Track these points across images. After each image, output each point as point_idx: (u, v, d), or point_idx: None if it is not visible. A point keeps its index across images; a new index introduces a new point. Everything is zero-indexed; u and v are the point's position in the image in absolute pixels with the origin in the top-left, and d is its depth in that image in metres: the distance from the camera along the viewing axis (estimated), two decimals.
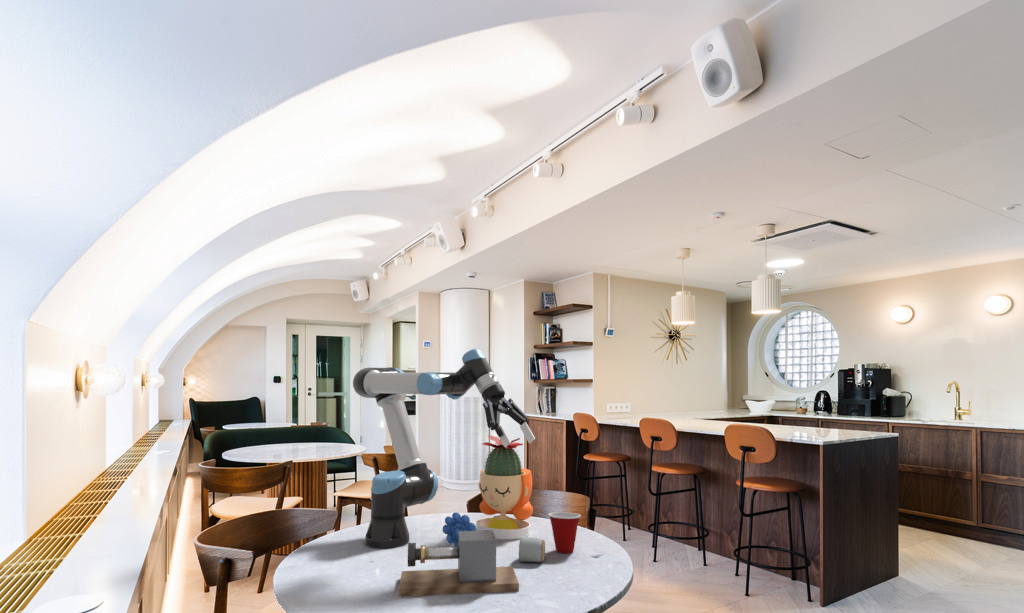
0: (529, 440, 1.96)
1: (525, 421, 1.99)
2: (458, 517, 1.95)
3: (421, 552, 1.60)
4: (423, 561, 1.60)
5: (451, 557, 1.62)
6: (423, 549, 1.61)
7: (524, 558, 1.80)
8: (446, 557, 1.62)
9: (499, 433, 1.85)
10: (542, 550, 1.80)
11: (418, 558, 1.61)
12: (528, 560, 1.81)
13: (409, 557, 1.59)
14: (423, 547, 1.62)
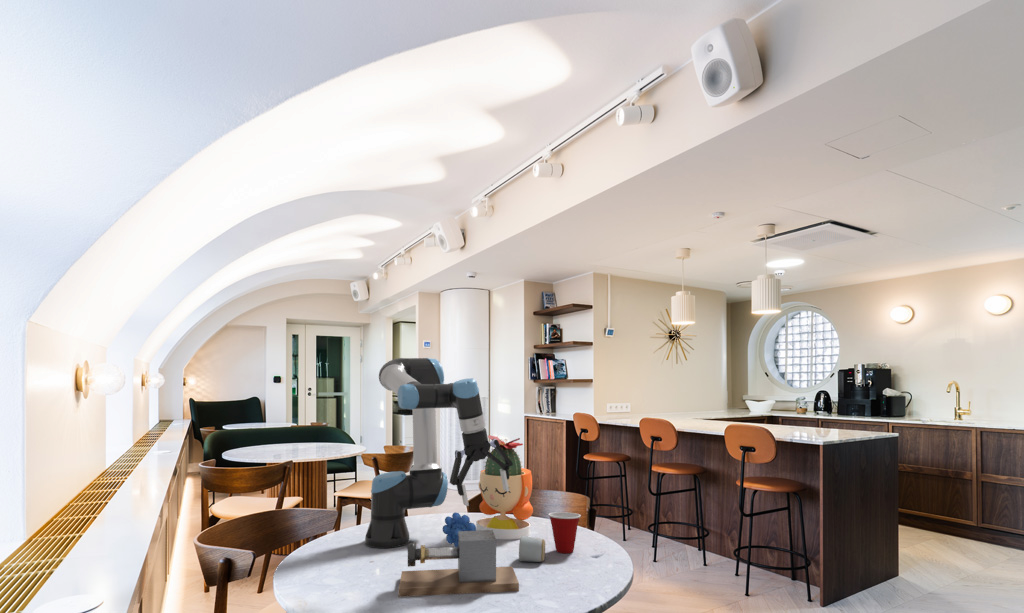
0: (504, 488, 1.82)
1: (505, 469, 1.80)
2: (458, 517, 1.95)
3: (421, 552, 1.60)
4: (423, 561, 1.60)
5: (451, 557, 1.62)
6: (423, 549, 1.61)
7: (524, 558, 1.81)
8: (446, 557, 1.62)
9: (459, 493, 1.74)
10: (542, 550, 1.80)
11: (418, 558, 1.61)
12: (528, 560, 1.81)
13: (409, 557, 1.59)
14: (423, 547, 1.62)
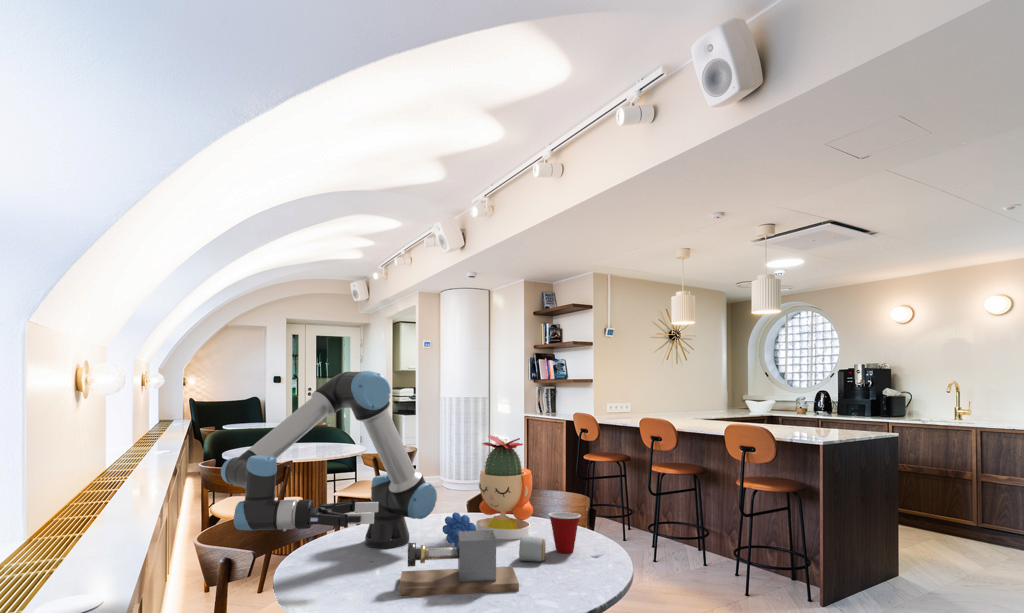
0: None
1: None
2: (458, 517, 1.95)
3: (421, 552, 1.60)
4: (423, 561, 1.60)
5: (451, 557, 1.62)
6: (423, 549, 1.61)
7: (524, 557, 1.81)
8: (446, 557, 1.62)
9: None
10: (542, 549, 1.81)
11: (418, 558, 1.61)
12: (528, 559, 1.81)
13: (409, 557, 1.59)
14: (423, 547, 1.62)
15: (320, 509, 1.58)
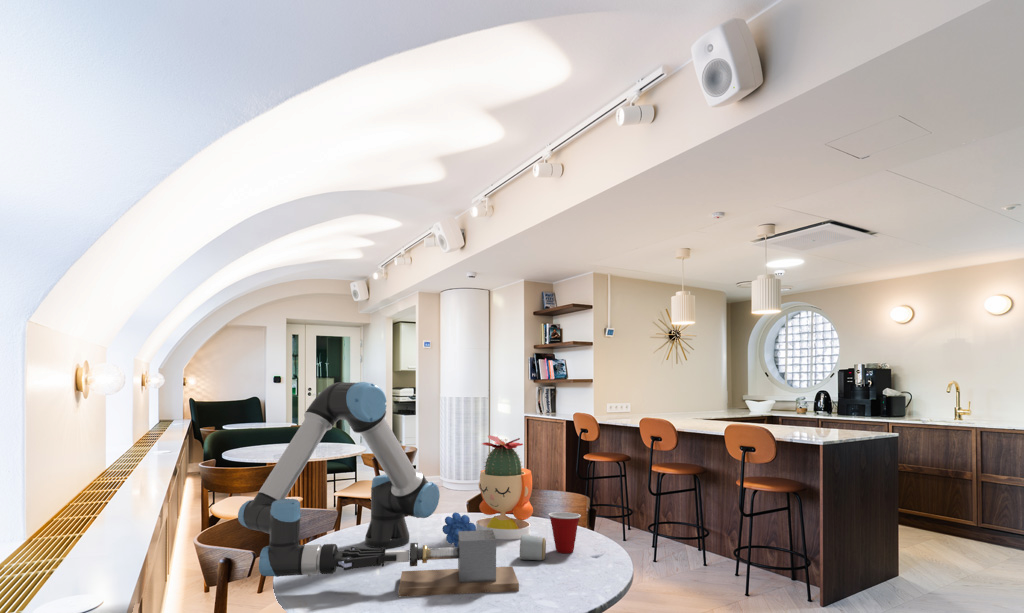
0: None
1: None
2: (458, 517, 1.95)
3: (423, 552, 1.60)
4: (425, 561, 1.60)
5: (453, 557, 1.62)
6: (425, 549, 1.61)
7: (525, 556, 1.82)
8: (448, 557, 1.62)
9: None
10: (543, 548, 1.82)
11: (420, 558, 1.61)
12: (529, 558, 1.82)
13: (411, 557, 1.59)
14: (425, 547, 1.62)
15: (347, 554, 1.57)
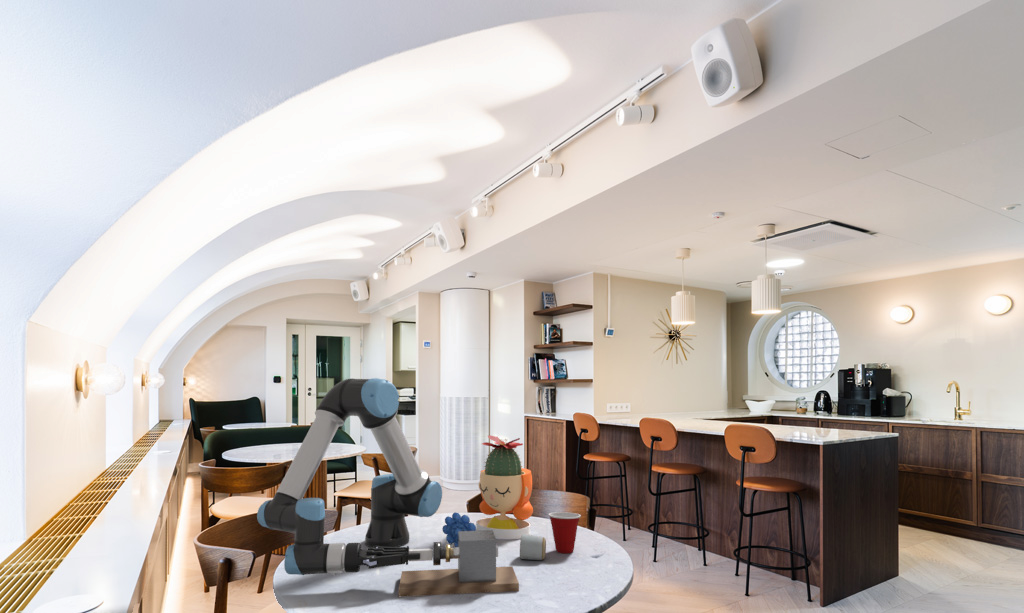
0: None
1: None
2: (458, 517, 1.95)
3: (446, 551, 1.61)
4: (448, 560, 1.61)
5: None
6: (448, 548, 1.62)
7: (525, 556, 1.83)
8: None
9: None
10: (543, 548, 1.82)
11: (443, 557, 1.62)
12: (529, 558, 1.83)
13: (435, 556, 1.60)
14: (448, 546, 1.62)
15: (371, 552, 1.59)
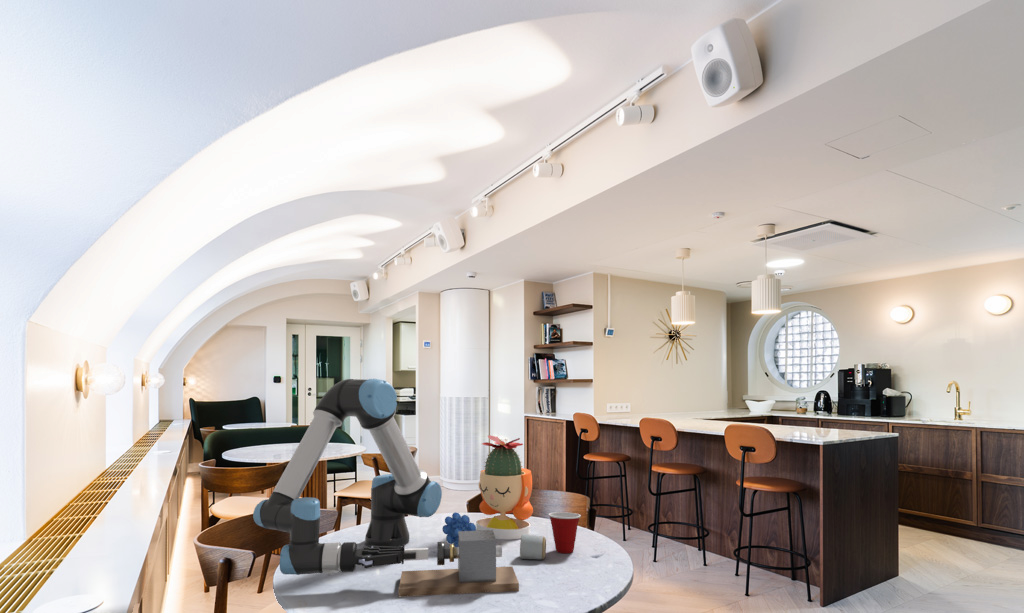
0: None
1: None
2: (458, 517, 1.95)
3: (450, 551, 1.61)
4: (452, 560, 1.61)
5: None
6: (452, 548, 1.62)
7: (525, 555, 1.83)
8: None
9: None
10: (543, 547, 1.83)
11: (447, 557, 1.62)
12: (529, 557, 1.83)
13: (439, 556, 1.60)
14: (452, 546, 1.63)
15: (367, 552, 1.58)
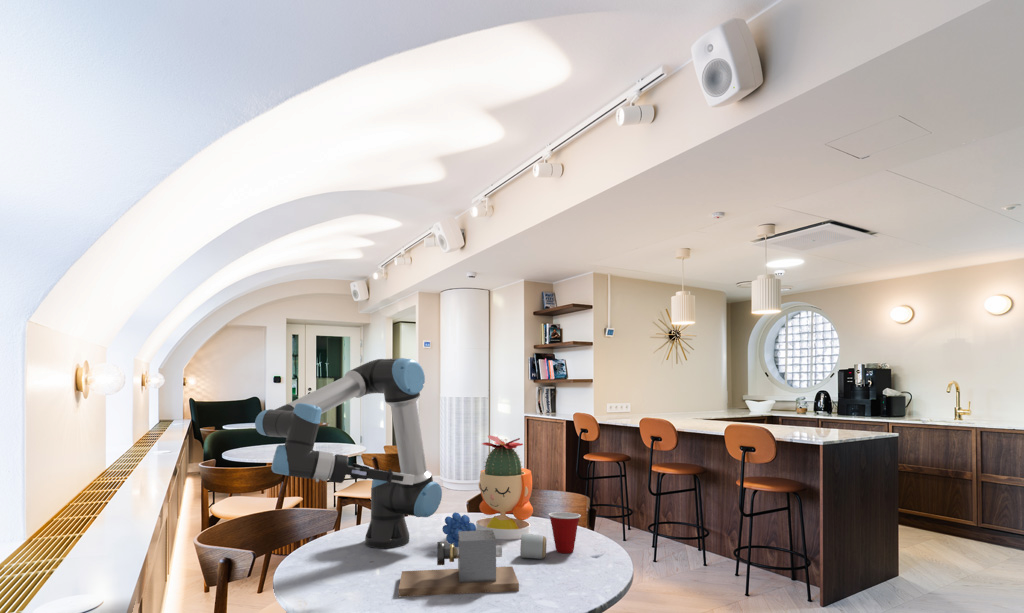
0: None
1: None
2: (458, 517, 1.95)
3: (450, 551, 1.61)
4: (452, 560, 1.61)
5: None
6: (452, 548, 1.62)
7: (526, 554, 1.84)
8: None
9: None
10: (543, 547, 1.83)
11: (447, 557, 1.62)
12: (529, 556, 1.84)
13: (439, 556, 1.60)
14: (452, 546, 1.63)
15: (359, 466, 1.63)
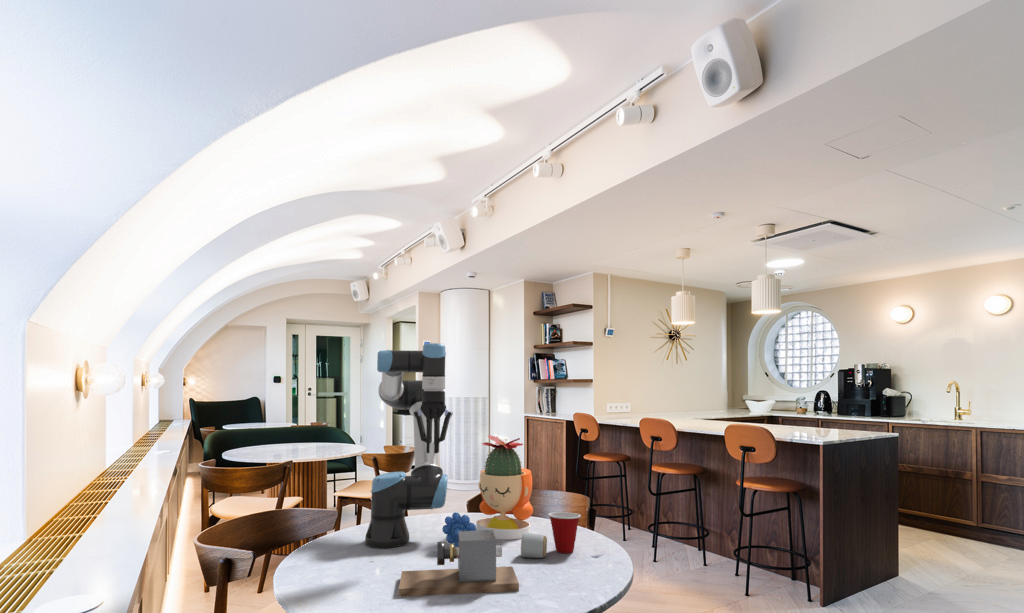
0: None
1: (434, 441, 1.89)
2: (458, 517, 1.95)
3: (450, 551, 1.61)
4: (452, 560, 1.61)
5: None
6: (452, 548, 1.62)
7: (526, 554, 1.85)
8: None
9: (426, 450, 1.90)
10: (544, 546, 1.84)
11: (447, 557, 1.62)
12: (530, 556, 1.85)
13: (439, 556, 1.60)
14: (452, 546, 1.63)
15: None
